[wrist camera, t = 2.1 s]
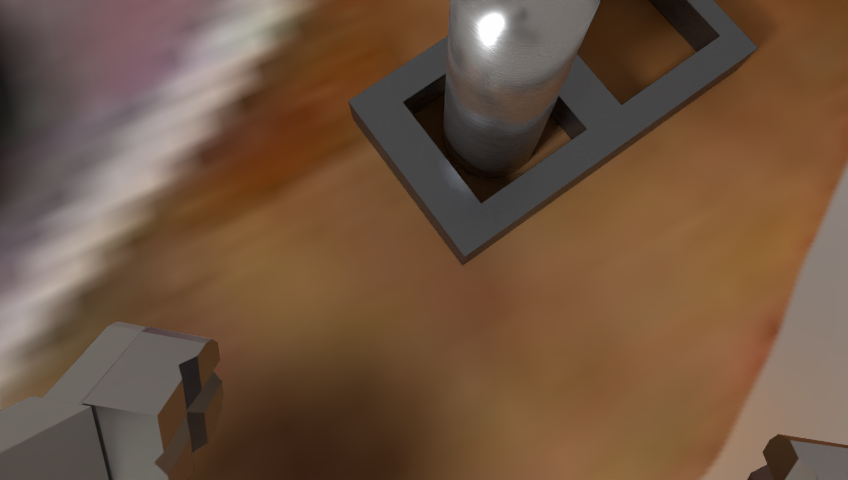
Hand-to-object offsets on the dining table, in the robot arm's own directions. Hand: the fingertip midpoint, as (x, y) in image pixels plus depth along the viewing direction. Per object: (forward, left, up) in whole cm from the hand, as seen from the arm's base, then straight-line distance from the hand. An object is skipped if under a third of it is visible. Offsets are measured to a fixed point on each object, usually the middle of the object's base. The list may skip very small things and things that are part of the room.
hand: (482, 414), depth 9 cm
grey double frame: (-9, +13, -19) cm, 24 cm away
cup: (-9, +9, -19) cm, 23 cm away
